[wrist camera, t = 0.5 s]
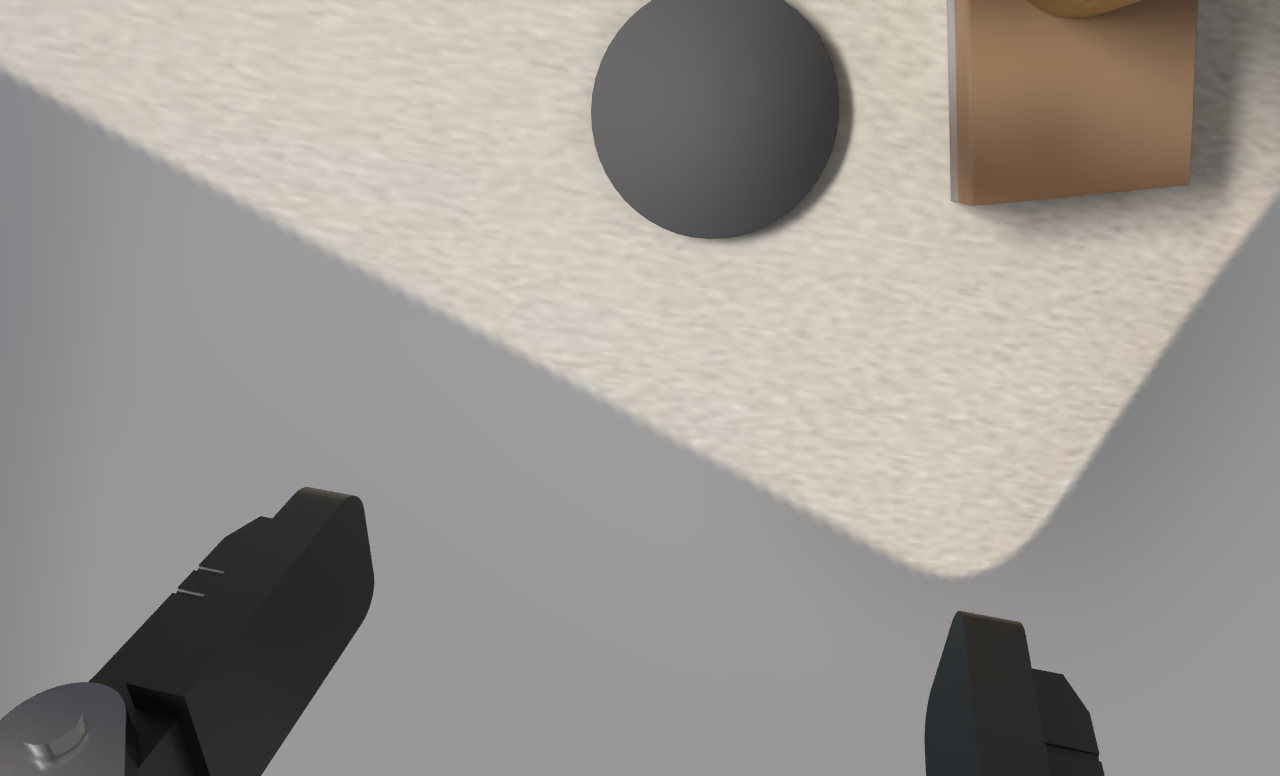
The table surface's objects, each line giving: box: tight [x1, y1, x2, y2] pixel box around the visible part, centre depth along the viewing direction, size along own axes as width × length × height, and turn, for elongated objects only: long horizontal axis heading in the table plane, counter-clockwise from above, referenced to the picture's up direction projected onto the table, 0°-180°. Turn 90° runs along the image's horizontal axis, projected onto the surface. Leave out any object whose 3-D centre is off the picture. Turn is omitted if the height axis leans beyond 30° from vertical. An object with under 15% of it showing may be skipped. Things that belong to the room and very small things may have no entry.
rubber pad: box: [591, 0, 839, 239], centre depth 33 cm, size 9×9×1 cm
